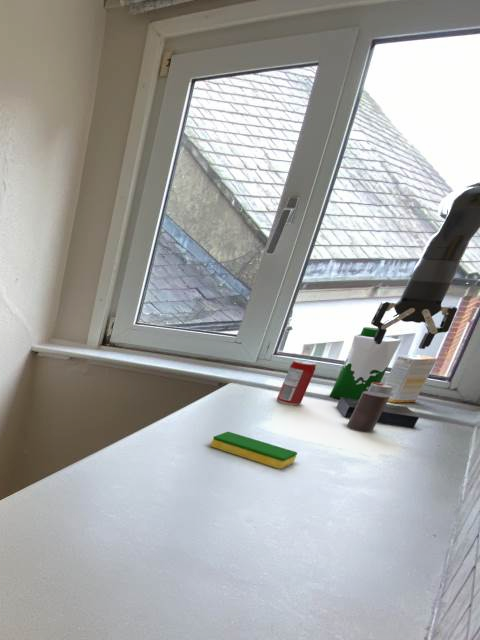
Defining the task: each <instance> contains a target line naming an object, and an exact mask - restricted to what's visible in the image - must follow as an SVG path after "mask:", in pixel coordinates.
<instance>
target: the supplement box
mask: <svg viewBox="0 0 480 640" xmlns="http://www.w3.org/2000/svg"><path fill="white" fill-rule="evenodd" d="M437 361H438V358H436V357H433V356H428V355H423V354H398V355H397V357H396V359H395V361H394V363H393V365H392V367H391V369H390V371H389V373H388V375H387V377H386V379H385V381H384V384H388V385H391V386H393V389H392V391H391V393H390V395H389V396H390V397H389V399H388V401H387V402H389V403H393V404H394V403H415V402H416V401H417V399H418V397H419V395H420V393H421V392H422V389H423V388H424V385H426V382H427V380H428V379H429V377H430V374H431V372H432V371H433V369H434V367H435V365H436V363H437Z"/></svg>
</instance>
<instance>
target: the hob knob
mask: <svg viewBox="0 0 480 640" xmlns="http://www.w3.org/2000/svg"><path fill="white" fill-rule="evenodd" d="M392 389H393V386H391V385H388V384H385V383H382V382H380V383H374V382H372V383H371V385H370V387H369V389H368V391H372V392H378V393H383V394H386V395H390V393H391V391H392Z"/></svg>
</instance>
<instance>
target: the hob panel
mask: <svg viewBox="0 0 480 640" xmlns="http://www.w3.org/2000/svg"><path fill="white" fill-rule="evenodd" d="M358 401H359V400H356V399H350V398H343V397H341V399H340V398H339V401H338V402H337V405H336V409H337V410H338V411H339V413H340V414H341V415H342V417H343V418H345V419H346V418H347V419H350V418H351V416H352V414H353V412H354V410H355V408H356V405H357V403H358ZM419 418H420V416H418V415H417V414H416V413H415V412H413V411H412V410H411V409H410V408H409V407H408V406H403V405H397V404H390V403H386V405H385V407H384V409H383V411H382V413H381V415H380V417H379V419H378V421H377V423H378V424H384V425H389V426H390V425H391V426H396V427H402V428H409V429H415V426H416V424H417V422H418V421H419ZM377 423H376V424H377Z"/></svg>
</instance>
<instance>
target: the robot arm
mask: <svg viewBox="0 0 480 640" xmlns="http://www.w3.org/2000/svg"><path fill="white" fill-rule="evenodd" d="M437 211H438V215H439V216H440V217H441V219H443V220H444V221H443V223H442V225H441V226H440V228H439V230H438V231H437V232H436V233H435V234H433V235H431V236H430V237H429V239H428V241H427V242H426V244H425V247H424V249H423V252H422V253H421V255H420V258H419V260H418V261H417V263H416V264H415V266H414V268H413V270H412V272H411V273H410V276H409V279H408V280H407V283H406V285H405V287H404V290H403V292H402V294H401V296H400V299H399V300H398V301H397V302H390V301H389V302H388V301H386V300H383V301H381V302H380V304H379V306H378V308H377V310H376V312H375V314H374V316H373V318H372V319H371V321H370V324H371V325H372V326H374V327H375V328H377V329H378V330H377V332H376V335H375V337H374V341H376V342H375V343H376V344H381V342H382V340H383V338H384V337H385V334H386V333H387V331H388V328H390V327H391V326H393V325H394V324H398V323H399V322H400V321H402V322H403V323H404V322H405V323H409V322H410V323H411V322H413V323H415V324H416V323H417V324H420V323H423V325H424V326H425V329H426V330H427V332H424V335H423V336H422V338H421V341H420V343H419V345H418V349H420V350H425V349H426V348H428V347H430V346H431V344H432V341H433V340H434V338H435V336H436V335H437V334H441V333H447V332H449V331H450V328H451V326H452V324H453V321H454V318H455V316H456V314H457V311H458V308H457V307H456V306H452V305H450V306H442V303H443V301H444V299H445V297H446V295H447V293H448V291H449V289H450V286H451V285H452V282H453V280H454V279H455V276H456V274H457V272H458V270H459V266H460V264H461V261H462V259H463V257H464V254H465V252H466V251H467V248H468V246H469V244H470V241H471V240H472V239H473V237H474V236H475V235H476V233H478V231H479V230H480V182H476V183H473V184H470V185H467V186H464V187H461V188H459V189H456V190H454V191H452V192H451V193H448V195H446V196H445V197H444V198H443V199H442V201H441V202H440V203H439V205H438V209H437ZM392 309H394V311H395V313H394V314H392V315H391V316H390V317H388V318H387V319H386V320H385V321H383V322H382V320H383V318H384V316H385V314H386V312H390V310H392ZM440 312H441V316H442V317H443V318H442V319H441V322H440V324H439V326H436V323H435V321H434V319H433V317H434V316H435V315H437V314H439V313H440Z"/></svg>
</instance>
